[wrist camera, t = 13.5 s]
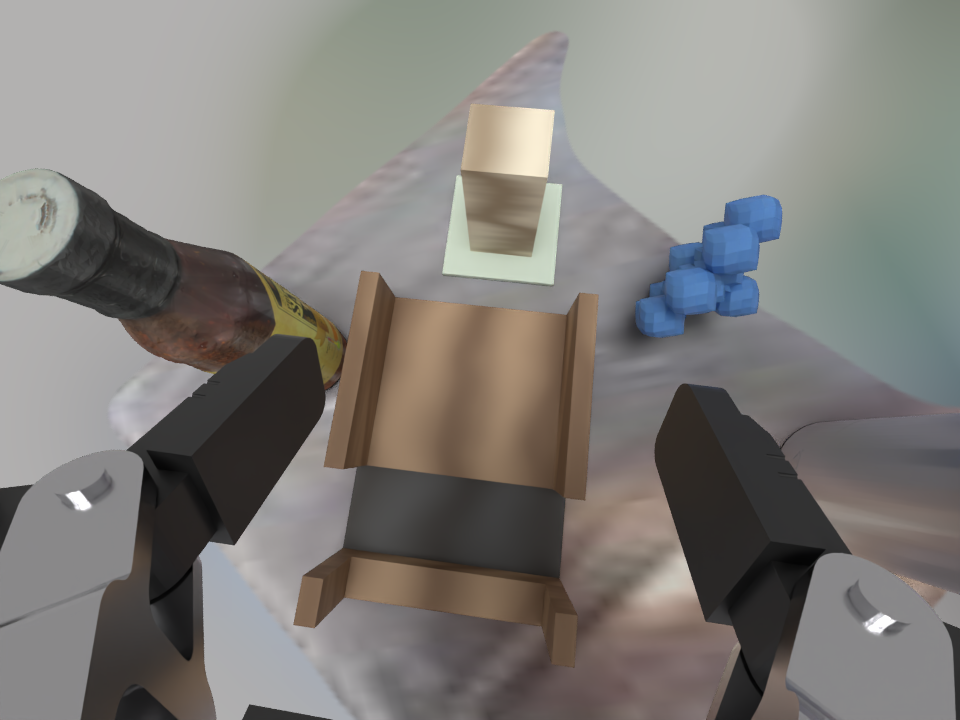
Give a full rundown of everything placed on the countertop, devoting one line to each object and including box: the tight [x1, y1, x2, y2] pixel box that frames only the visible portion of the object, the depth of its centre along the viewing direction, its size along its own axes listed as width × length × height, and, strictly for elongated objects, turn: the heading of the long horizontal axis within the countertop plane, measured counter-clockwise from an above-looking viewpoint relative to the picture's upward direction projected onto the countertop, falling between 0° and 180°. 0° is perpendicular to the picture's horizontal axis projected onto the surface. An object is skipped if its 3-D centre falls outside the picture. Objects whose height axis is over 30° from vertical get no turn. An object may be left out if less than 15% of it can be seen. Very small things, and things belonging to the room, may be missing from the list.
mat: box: [442, 176, 562, 286], centre depth 33 cm, size 9×9×1 cm
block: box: [461, 104, 555, 257], centre depth 28 cm, size 5×4×10 cm
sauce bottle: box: [0, 169, 347, 390], centre depth 22 cm, size 7×6×20 cm
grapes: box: [635, 195, 782, 338], centre depth 26 cm, size 12×7×12 cm, turn 137°
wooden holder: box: [293, 271, 598, 668], centre depth 27 cm, size 15×21×6 cm
